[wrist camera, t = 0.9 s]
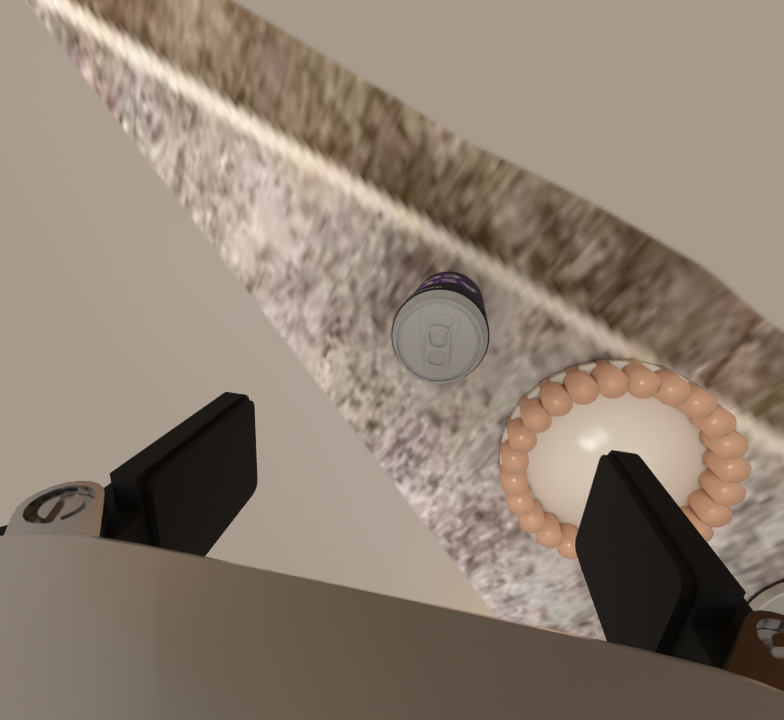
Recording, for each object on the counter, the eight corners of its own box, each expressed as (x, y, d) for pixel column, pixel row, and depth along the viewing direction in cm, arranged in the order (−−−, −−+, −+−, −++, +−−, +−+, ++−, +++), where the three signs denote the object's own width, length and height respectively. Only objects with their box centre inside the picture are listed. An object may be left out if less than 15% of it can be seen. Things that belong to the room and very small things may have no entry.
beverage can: (486, 272, 32) (495, 293, 20) (479, 340, 33) (485, 394, 22) (416, 269, 33) (388, 288, 21) (413, 335, 34) (386, 385, 23)
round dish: (760, 372, 30) (790, 386, 27) (688, 559, 36) (707, 587, 33) (515, 346, 33) (519, 356, 30) (485, 523, 39) (486, 546, 36)
